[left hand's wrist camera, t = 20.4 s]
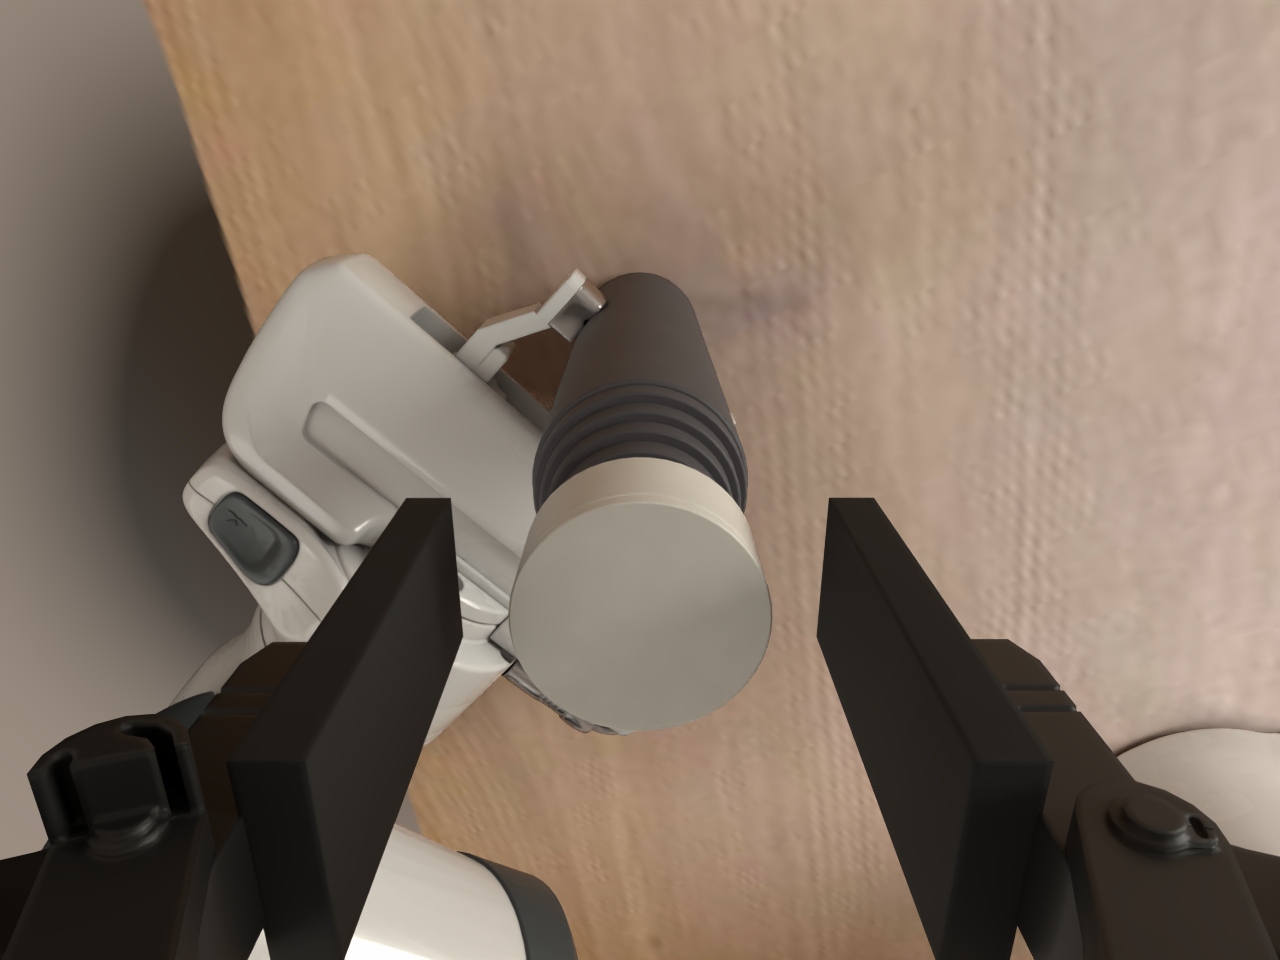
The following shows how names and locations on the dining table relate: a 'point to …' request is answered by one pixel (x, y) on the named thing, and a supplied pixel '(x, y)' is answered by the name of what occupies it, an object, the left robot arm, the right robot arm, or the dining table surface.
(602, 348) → the bottle
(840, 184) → the dining table surface
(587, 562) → the cap
